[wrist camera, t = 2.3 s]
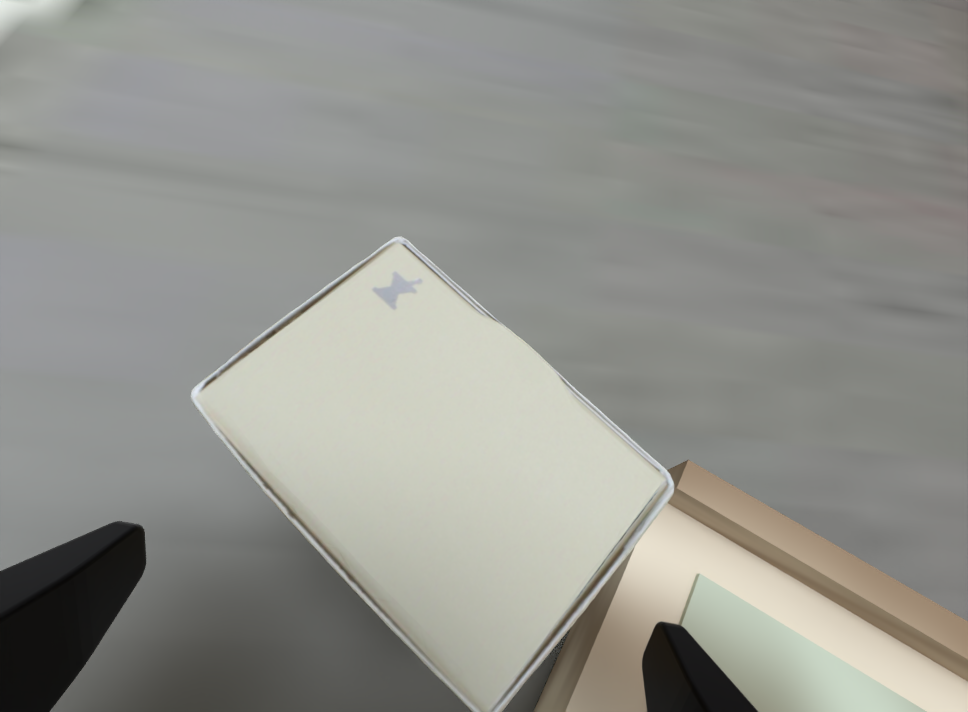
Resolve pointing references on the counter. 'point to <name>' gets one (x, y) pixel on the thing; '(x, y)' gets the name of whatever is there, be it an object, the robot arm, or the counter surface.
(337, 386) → the skincare box
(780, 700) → the stand
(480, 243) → the counter surface
